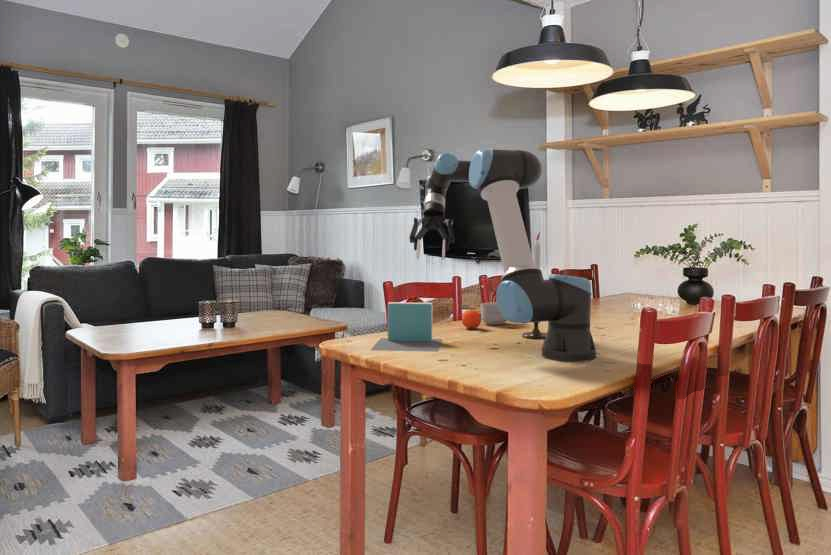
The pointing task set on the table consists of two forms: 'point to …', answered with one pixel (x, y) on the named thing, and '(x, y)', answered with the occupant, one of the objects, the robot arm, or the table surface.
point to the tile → (409, 321)
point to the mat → (407, 345)
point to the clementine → (471, 319)
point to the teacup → (491, 314)
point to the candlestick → (536, 332)
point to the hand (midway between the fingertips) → (430, 256)
